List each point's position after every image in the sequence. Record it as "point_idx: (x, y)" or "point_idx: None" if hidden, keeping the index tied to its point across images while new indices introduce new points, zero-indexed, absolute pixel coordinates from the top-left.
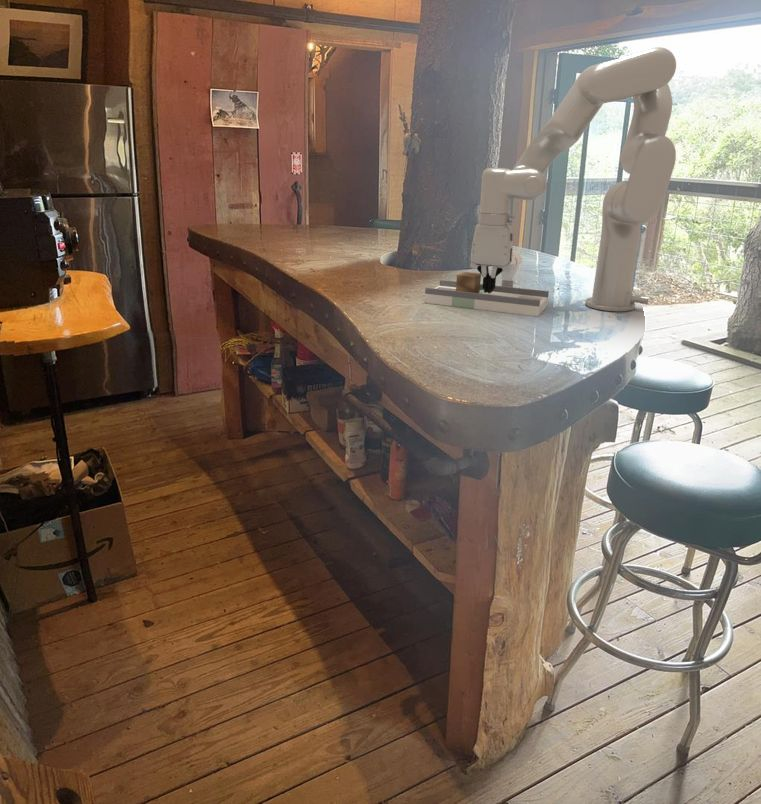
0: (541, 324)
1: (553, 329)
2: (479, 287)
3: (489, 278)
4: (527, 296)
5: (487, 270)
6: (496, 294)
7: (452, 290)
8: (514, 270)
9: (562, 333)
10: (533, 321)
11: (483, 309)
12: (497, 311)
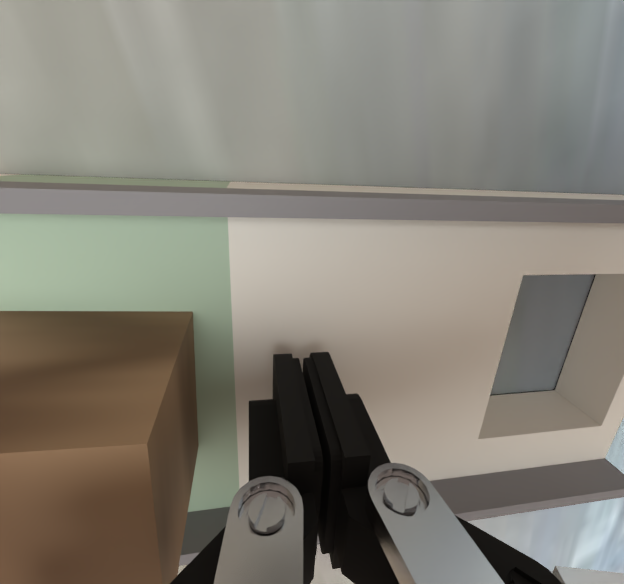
0: (553, 513)
1: (583, 539)
2: (185, 350)
3: (337, 563)
4: (577, 263)
5: (286, 581)
6: (348, 316)
7: None
8: None
9: (601, 557)
10: None
11: None
12: None
